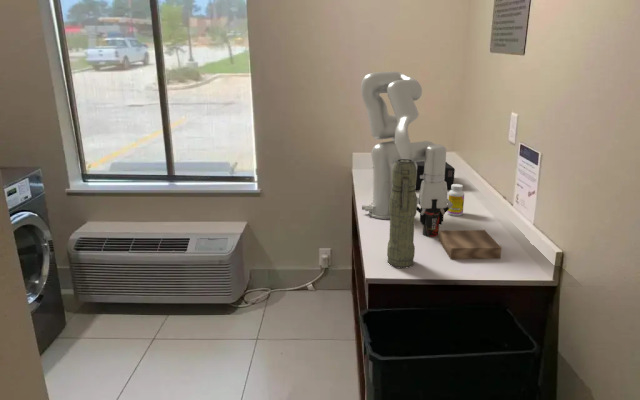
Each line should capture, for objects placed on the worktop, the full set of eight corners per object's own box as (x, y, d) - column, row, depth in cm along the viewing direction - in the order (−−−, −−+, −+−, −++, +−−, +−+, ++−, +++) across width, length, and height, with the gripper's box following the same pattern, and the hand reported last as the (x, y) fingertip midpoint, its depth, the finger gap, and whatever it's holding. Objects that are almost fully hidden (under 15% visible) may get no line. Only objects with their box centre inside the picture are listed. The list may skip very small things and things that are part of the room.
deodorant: (429, 238, 185) (431, 200, 181) (419, 233, 190) (421, 196, 186) (441, 235, 188) (444, 198, 183) (431, 230, 193) (433, 194, 188)
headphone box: (377, 179, 271) (378, 153, 267) (440, 178, 272) (442, 152, 268) (384, 191, 247) (385, 163, 243) (453, 190, 248) (455, 162, 244)
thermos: (390, 270, 158) (394, 165, 148) (384, 256, 169) (387, 157, 159) (417, 269, 159) (423, 164, 148) (409, 255, 170) (414, 156, 160)
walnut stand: (450, 259, 166) (451, 248, 165) (438, 240, 183) (439, 230, 182) (500, 258, 167) (501, 247, 165) (483, 240, 183) (484, 230, 182)
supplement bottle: (463, 216, 208) (465, 187, 204) (447, 216, 209) (449, 187, 206) (462, 212, 214) (464, 183, 211) (446, 211, 216) (448, 183, 212)
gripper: (412, 180, 179) (410, 227, 184) (459, 180, 179) (456, 226, 184) (409, 175, 186) (407, 220, 191) (454, 175, 186) (451, 220, 191)
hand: (431, 223), depth 188 cm, fingers closed on deodorant, 5 cm apart
